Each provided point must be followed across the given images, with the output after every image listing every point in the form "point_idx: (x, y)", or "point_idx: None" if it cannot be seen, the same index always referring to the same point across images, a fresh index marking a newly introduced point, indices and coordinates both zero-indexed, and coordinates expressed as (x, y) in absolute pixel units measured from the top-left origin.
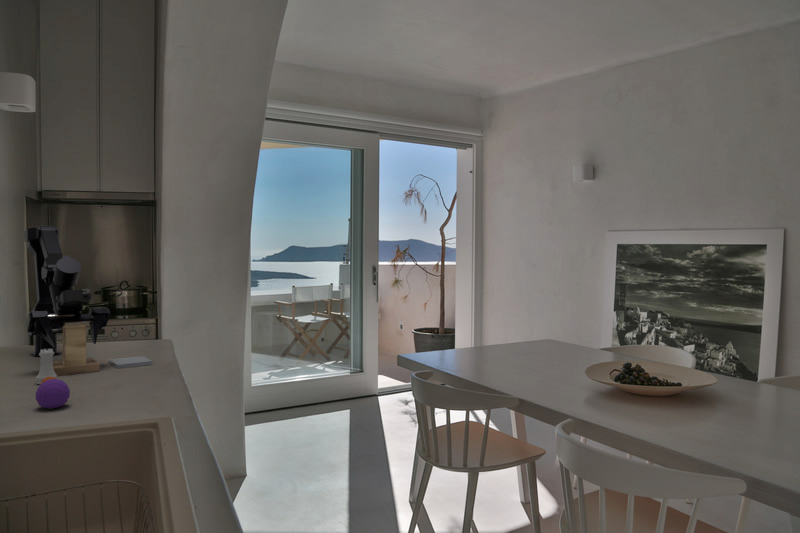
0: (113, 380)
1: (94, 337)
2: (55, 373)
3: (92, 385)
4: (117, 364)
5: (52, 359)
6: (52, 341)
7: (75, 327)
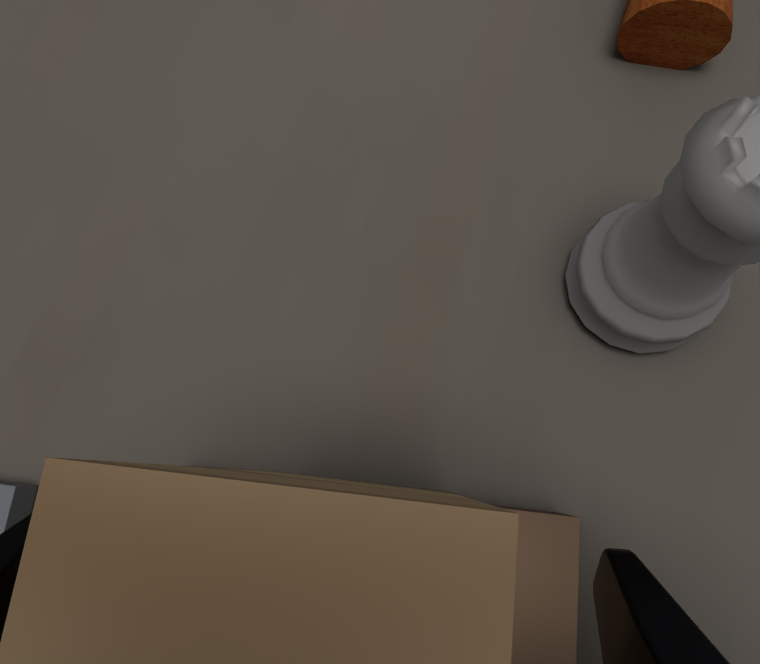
0: (254, 87)
1: (5, 555)
2: (531, 510)
3: (407, 32)
4: (7, 497)
5: (675, 172)
6: (679, 608)
7: (289, 485)
